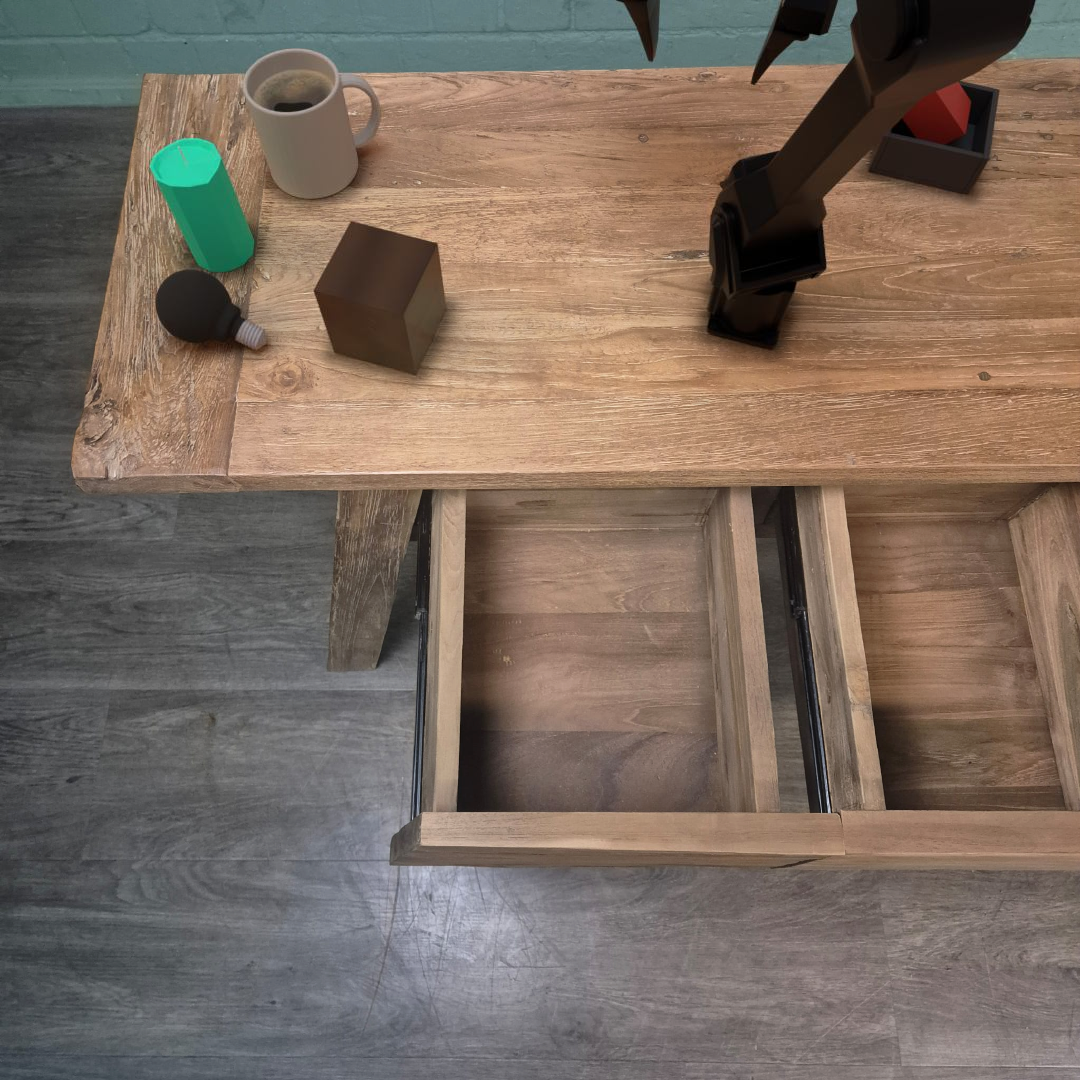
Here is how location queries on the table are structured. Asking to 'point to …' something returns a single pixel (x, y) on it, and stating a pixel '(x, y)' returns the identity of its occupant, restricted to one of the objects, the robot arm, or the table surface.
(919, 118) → the red rectangular block
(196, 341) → the light bulb
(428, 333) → the dark wooden block
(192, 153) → the candle
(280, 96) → the mug
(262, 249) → the table surface
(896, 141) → the dark gray open box
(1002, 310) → the table surface
